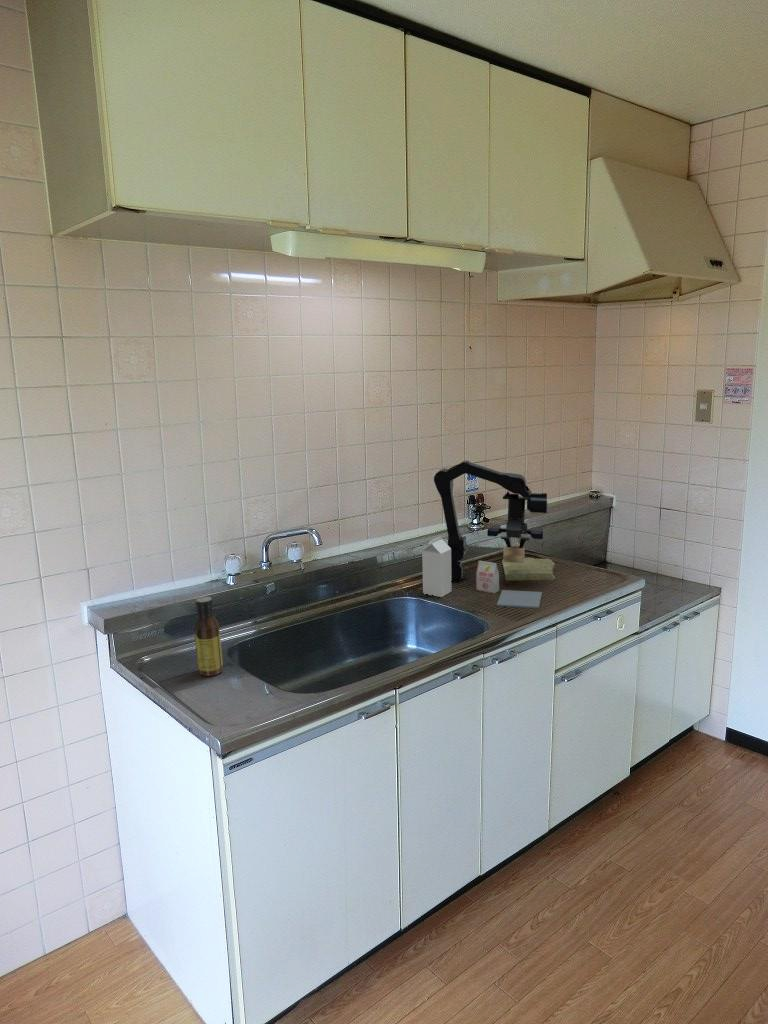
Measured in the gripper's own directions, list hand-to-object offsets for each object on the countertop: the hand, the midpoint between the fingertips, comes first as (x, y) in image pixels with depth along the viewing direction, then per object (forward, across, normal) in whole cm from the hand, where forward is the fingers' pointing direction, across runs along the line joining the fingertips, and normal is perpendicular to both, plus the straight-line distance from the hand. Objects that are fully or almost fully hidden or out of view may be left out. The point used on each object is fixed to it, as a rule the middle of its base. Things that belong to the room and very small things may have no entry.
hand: (514, 556), depth 252 cm
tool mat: (+9, +4, -18) cm, 21 cm away
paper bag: (+10, -8, -10) cm, 16 cm away
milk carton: (+10, -24, -16) cm, 31 cm away
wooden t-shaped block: (+1, 0, +2) cm, 2 cm away
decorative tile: (+10, +4, +14) cm, 17 cm away
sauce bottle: (+11, -68, -91) cm, 114 cm away
